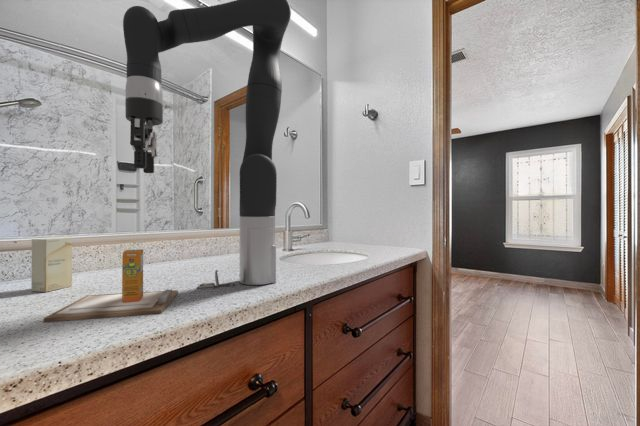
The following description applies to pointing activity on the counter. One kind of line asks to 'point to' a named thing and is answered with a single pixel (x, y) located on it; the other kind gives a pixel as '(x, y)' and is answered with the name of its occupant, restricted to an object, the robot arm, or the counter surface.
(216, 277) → the strap clip
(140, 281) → the supplement box
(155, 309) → the wooden board
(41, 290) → the skincare box
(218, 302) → the counter surface
